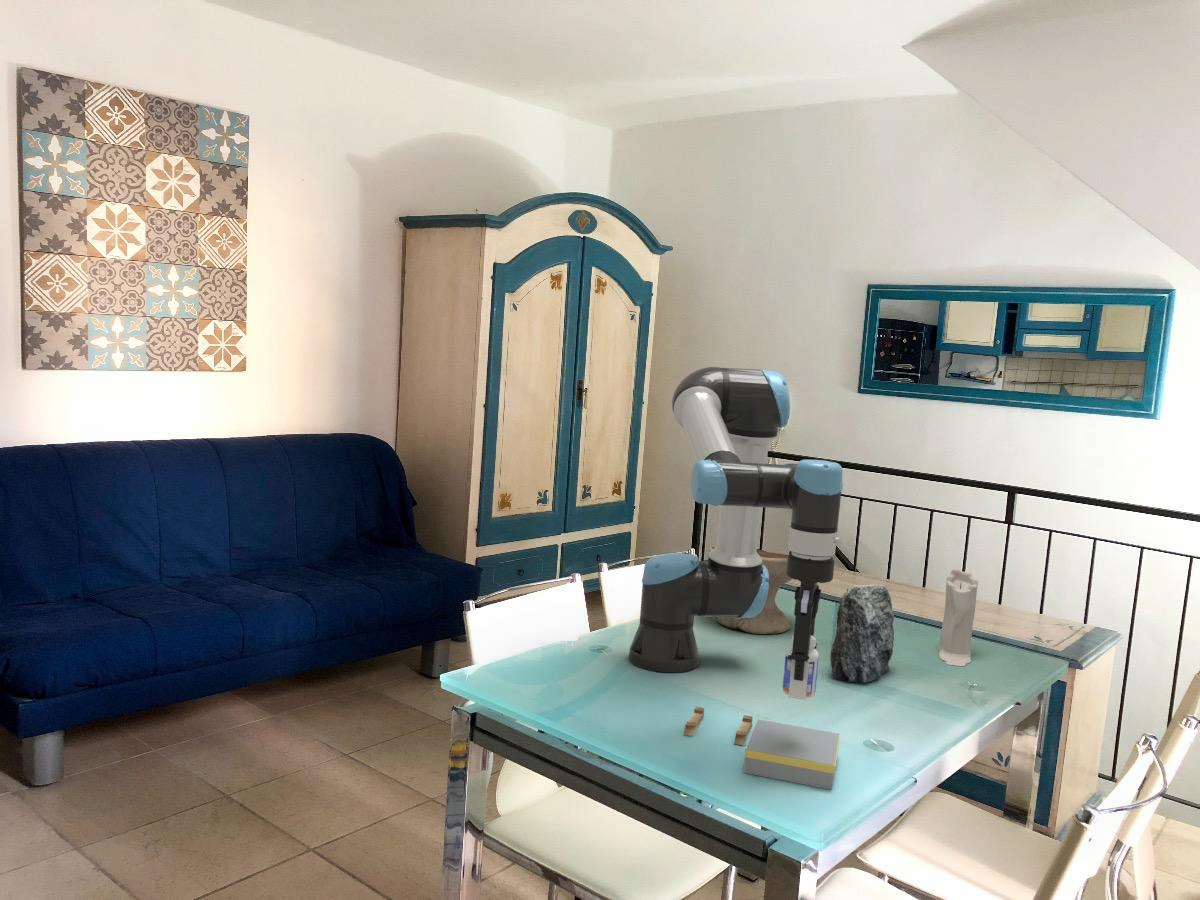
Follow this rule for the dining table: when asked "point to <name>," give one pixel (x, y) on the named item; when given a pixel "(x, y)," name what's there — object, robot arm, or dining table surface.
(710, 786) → the dining table surface
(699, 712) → the wooden rail rack
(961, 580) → the candle
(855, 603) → the stone block
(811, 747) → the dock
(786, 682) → the pill bottle
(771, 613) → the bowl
